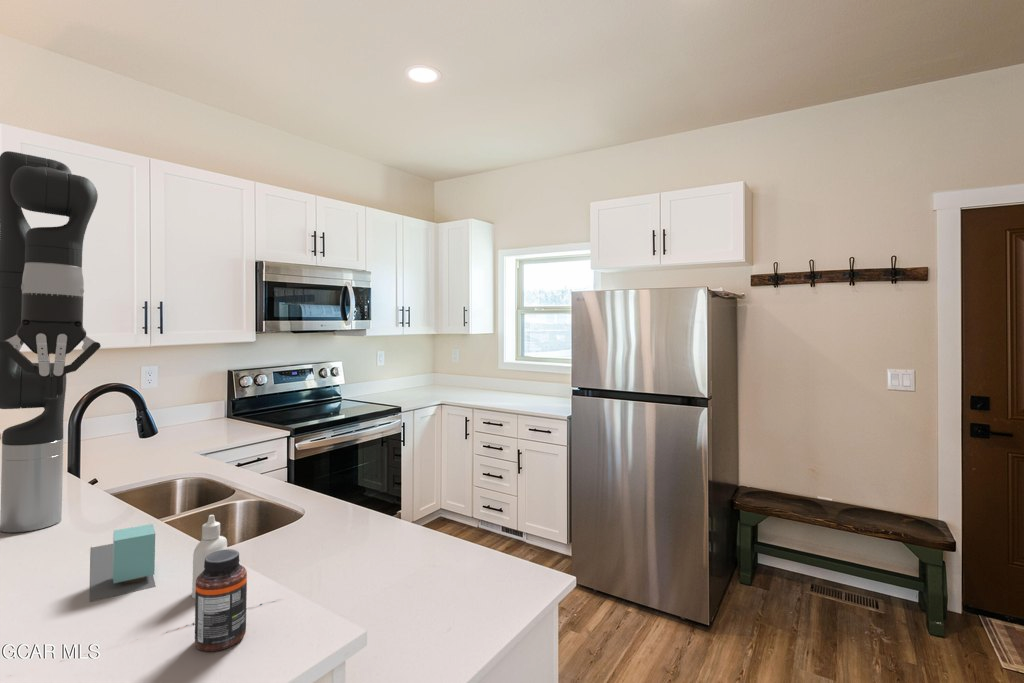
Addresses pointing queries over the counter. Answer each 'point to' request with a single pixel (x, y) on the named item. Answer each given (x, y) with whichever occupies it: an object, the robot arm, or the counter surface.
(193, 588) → the eye dropper bottle
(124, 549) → the teal rectangular block
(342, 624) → the counter surface
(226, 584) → the supplement bottle
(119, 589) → the mat
